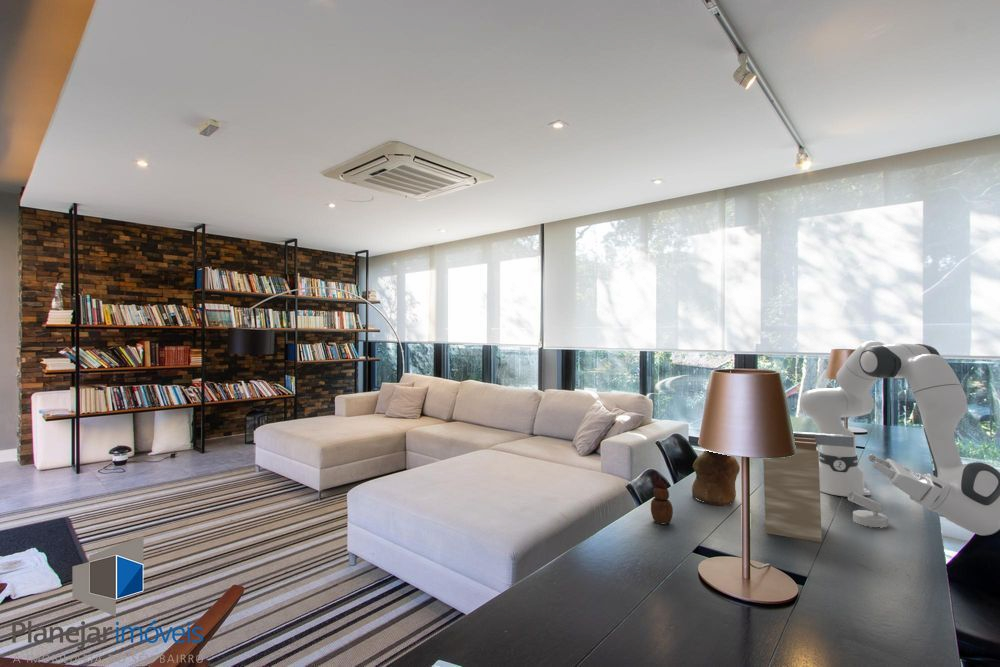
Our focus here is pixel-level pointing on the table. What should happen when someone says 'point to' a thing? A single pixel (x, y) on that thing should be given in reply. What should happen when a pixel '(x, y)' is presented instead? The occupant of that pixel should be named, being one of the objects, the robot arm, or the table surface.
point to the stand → (794, 493)
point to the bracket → (828, 438)
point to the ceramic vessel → (715, 478)
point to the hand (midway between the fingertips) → (871, 460)
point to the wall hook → (868, 512)
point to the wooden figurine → (661, 503)
